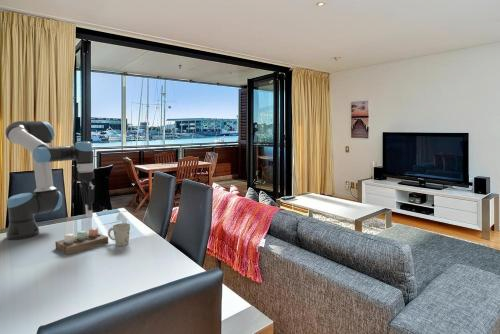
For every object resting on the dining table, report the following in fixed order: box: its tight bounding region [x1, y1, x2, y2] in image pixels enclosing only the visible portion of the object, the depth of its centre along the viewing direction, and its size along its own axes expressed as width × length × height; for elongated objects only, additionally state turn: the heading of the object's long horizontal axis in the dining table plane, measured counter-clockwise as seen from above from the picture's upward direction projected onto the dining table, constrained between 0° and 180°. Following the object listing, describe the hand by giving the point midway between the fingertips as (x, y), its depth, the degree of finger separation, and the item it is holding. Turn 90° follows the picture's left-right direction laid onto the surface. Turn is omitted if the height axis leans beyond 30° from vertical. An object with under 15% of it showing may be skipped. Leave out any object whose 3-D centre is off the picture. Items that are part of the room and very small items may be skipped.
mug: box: [107, 222, 131, 247], centre depth 167 cm, size 8×13×10 cm, turn 78°
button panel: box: [55, 232, 109, 256], centre depth 165 cm, size 14×20×4 cm
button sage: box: [76, 230, 88, 241], centre depth 164 cm, size 4×4×4 cm
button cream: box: [63, 233, 76, 244], centre depth 159 cm, size 4×4×4 cm
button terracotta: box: [88, 227, 99, 238], centre depth 169 cm, size 4×4×4 cm
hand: (89, 216), depth 168 cm, fingers closed
